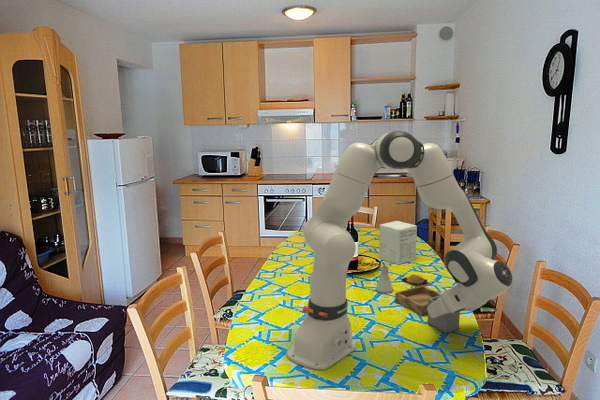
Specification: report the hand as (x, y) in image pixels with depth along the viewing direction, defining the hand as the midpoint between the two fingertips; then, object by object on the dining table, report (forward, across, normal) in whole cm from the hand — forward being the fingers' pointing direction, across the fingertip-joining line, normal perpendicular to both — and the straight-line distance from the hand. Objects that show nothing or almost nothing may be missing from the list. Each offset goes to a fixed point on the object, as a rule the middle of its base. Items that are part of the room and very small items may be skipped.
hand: (442, 312), depth 134 cm
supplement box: (+45, -33, -38) cm, 68 cm away
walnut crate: (+14, -6, -7) cm, 17 cm away
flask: (+27, -3, -19) cm, 33 cm away
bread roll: (+27, -19, -19) cm, 38 cm away
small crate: (+3, 0, +4) cm, 5 cm away
